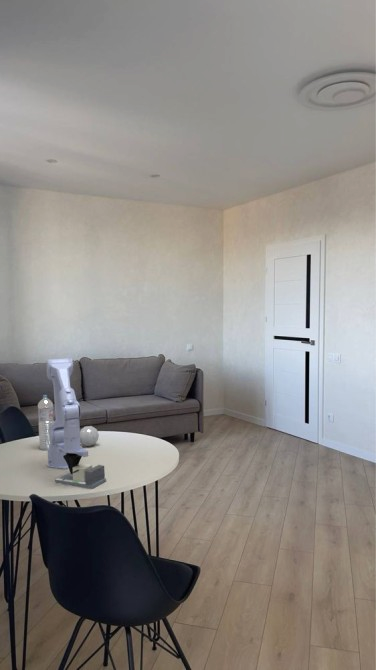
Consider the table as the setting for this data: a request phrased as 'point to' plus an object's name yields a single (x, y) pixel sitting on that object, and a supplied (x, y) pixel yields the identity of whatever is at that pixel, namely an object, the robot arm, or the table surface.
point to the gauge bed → (69, 480)
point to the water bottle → (45, 421)
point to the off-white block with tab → (80, 472)
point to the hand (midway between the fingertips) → (73, 473)
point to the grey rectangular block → (94, 475)
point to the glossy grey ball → (88, 436)
